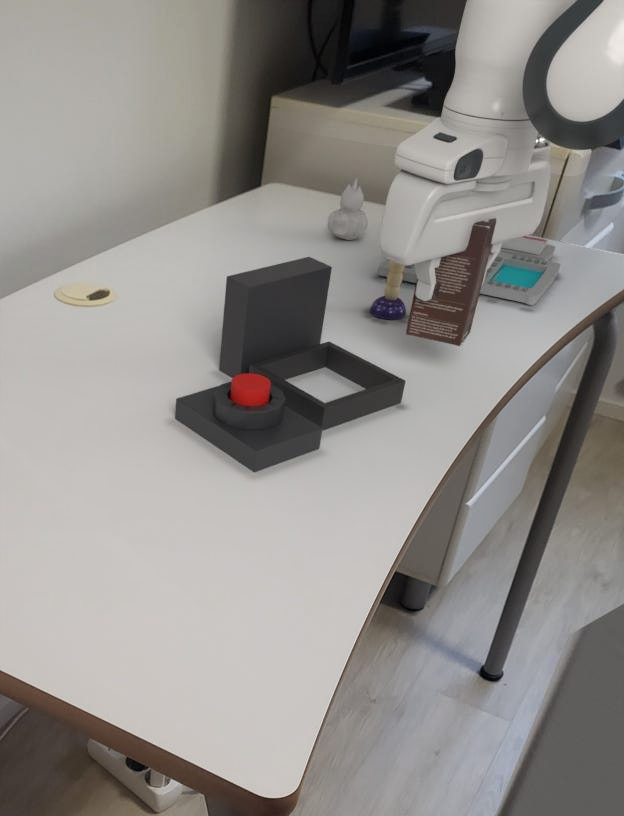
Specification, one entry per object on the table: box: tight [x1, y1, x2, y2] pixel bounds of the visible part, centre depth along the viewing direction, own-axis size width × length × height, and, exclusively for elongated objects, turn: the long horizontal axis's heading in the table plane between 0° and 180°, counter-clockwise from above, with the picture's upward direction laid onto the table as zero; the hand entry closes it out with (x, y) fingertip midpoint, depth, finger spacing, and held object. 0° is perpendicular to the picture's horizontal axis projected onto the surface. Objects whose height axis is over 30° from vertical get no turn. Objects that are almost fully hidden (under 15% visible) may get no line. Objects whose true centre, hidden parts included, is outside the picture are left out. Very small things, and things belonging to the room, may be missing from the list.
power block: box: [174, 380, 323, 473], centre depth 91 cm, size 12×8×4 cm, turn 35°
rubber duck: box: [327, 177, 369, 241], centre depth 134 cm, size 5×7×8 cm
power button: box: [230, 373, 271, 406], centre depth 90 cm, size 4×4×2 cm
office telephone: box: [376, 235, 561, 306], centre depth 129 cm, size 23×3×20 cm
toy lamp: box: [369, 169, 407, 320], centre depth 111 cm, size 5×5×17 cm
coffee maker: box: [218, 256, 406, 432], centre depth 97 cm, size 16×11×10 cm
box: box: [405, 218, 496, 347], centre depth 98 cm, size 6×4×12 cm
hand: (448, 291), depth 99 cm, fingers closed on box, 5 cm apart
